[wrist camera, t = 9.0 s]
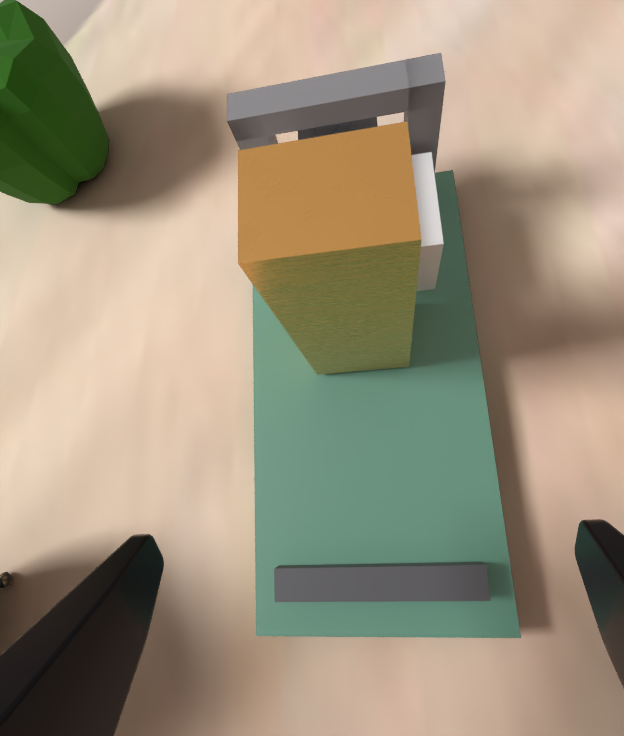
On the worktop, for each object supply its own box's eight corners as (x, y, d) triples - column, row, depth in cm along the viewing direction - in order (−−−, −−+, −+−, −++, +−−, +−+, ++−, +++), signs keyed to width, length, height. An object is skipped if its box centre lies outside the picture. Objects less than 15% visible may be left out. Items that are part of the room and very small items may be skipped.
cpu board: (513, 628, 18) (600, 733, 10) (264, 627, 19) (178, 717, 12) (450, 186, 23) (476, 36, 15) (258, 214, 25) (196, 91, 17)
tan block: (408, 366, 20) (421, 239, 10) (317, 374, 20) (237, 263, 10) (387, 159, 22) (380, -108, 12) (307, 172, 23) (237, -72, 13)
